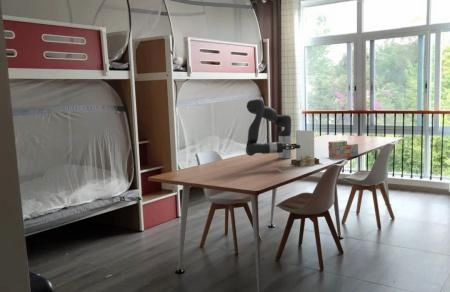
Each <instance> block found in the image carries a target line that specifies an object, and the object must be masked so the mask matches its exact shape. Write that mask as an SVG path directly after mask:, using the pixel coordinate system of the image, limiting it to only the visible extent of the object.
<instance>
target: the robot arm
mask: <svg viewBox="0 0 450 292" xmlns="http://www.w3.org/2000/svg"><path fill="white" fill-rule="evenodd" d="M246 109H247V111H248V113H250V114H253V115H255V116H254V119H253V121H252V122H251V124H250V126H249V128H248V132H247V141H246V146H245V154H246V155H248V156H249V157H252V156H254V155H256V154H262V155H266V154H268V155H269V154H278V159H291V158H292V150H296V149H297V148H300V145H296V142H295V143H292V139H291V138H292V137H291V136H292V135H291V134H292V118H291V116H290V114H278V112H277V110H276V109H275V108H272V107H270V106H265V102H264V100H263V99H262V98H261V99H260V98H258V99H252V100H249V101H248V102H247V103H246ZM262 118H263V119H265V120H266V121H269V122H271V123H273V124H274V125H276V126H277V127H279V128H284V129H282V130H281V131H279V132H278V141H274V142H264V143H258V139H259V133H260V132H259V131H260V126H261V124H262V123H261V122H262Z"/></svg>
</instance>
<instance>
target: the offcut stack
mask: <svg viewBox="0 0 450 292" xmlns="http://www.w3.org/2000/svg"><path fill="white" fill-rule="evenodd" d="M300 165H301V166H300V167H308V166H309V165H311V166H316V165H315V160H314V159H313V158H312V156H301V162H300ZM309 167H310V166H309Z"/></svg>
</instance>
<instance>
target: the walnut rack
mask: <svg viewBox="0 0 450 292" xmlns="http://www.w3.org/2000/svg"><path fill="white" fill-rule="evenodd" d="M314 160H315V165H314V166H318V165H319V166H321V165H324V163H321V162H320V158H317V157H314ZM300 162H301V160H296V158H295V159H291V160H290V165H291V166H292V167H294V168H296V167H297V168H298V167H302V166H301V165H300ZM310 166H312V165H309V167H310Z"/></svg>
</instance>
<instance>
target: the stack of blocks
mask: <svg viewBox="0 0 450 292" xmlns="http://www.w3.org/2000/svg"><path fill="white" fill-rule="evenodd" d="M327 145H328V158H329V159H330V158H331V159H340V158H350V157H357V156H359V143H354V142H352V143H348V141H347V140H342V139H341V140H333V141H328V144H327Z"/></svg>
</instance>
